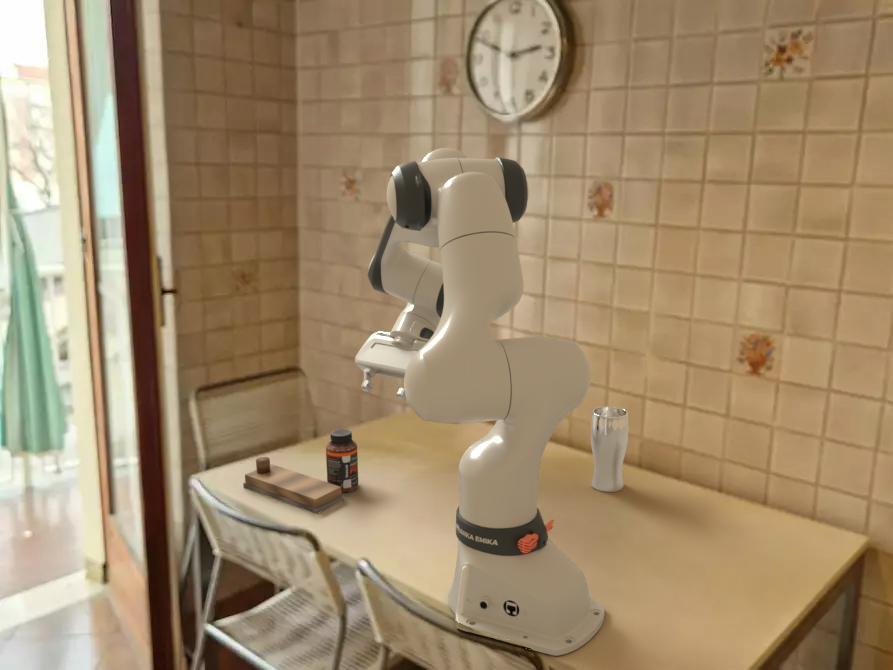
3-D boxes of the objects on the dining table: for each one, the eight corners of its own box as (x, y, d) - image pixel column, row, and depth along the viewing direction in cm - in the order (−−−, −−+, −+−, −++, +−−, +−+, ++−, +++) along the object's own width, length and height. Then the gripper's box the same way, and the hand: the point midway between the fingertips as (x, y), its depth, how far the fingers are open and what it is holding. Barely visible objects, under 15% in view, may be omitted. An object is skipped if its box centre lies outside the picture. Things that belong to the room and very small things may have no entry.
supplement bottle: (356, 494, 157) (354, 437, 154) (325, 494, 157) (322, 437, 154) (360, 481, 163) (358, 426, 160) (330, 481, 163) (327, 426, 160)
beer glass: (623, 479, 162) (626, 406, 159) (627, 494, 156) (631, 418, 152) (587, 477, 163) (590, 405, 160) (590, 492, 156) (592, 417, 153)
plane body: (344, 500, 154) (342, 475, 153) (317, 513, 149) (315, 487, 148) (271, 475, 166) (269, 451, 165) (243, 487, 161) (241, 462, 159)
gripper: (366, 321, 175) (336, 377, 169) (444, 334, 163) (414, 394, 157) (381, 338, 179) (352, 392, 174) (458, 351, 167) (429, 410, 162)
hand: (382, 393), depth 166 cm, fingers open, 8 cm apart
